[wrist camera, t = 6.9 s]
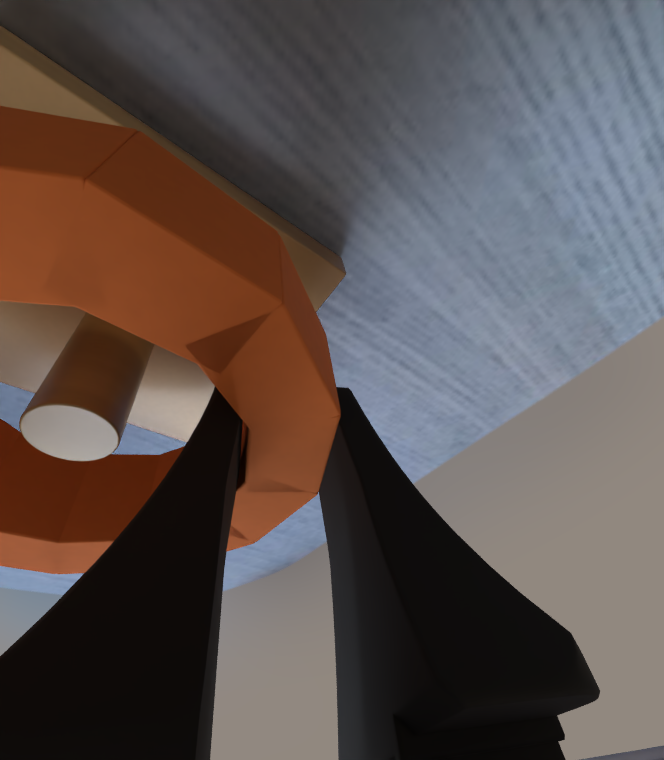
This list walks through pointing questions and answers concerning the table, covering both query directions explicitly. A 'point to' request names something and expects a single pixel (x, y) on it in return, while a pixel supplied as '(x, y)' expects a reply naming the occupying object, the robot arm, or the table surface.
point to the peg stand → (98, 337)
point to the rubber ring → (154, 328)
